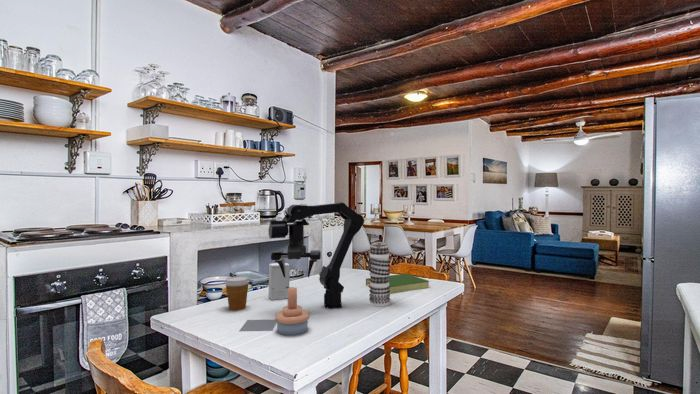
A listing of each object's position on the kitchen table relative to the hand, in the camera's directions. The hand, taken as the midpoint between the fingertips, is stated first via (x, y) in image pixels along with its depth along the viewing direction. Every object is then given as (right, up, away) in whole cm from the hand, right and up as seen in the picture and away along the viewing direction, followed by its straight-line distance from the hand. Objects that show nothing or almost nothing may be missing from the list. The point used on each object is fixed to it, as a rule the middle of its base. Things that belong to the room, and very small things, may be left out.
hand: (296, 277), depth 146 cm
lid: (+2, -9, -21) cm, 23 cm away
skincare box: (-10, -13, +19) cm, 25 cm away
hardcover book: (+43, -13, +37) cm, 58 cm away
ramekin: (+2, -13, -21) cm, 25 cm away
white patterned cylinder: (+33, -13, +10) cm, 37 cm away
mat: (-11, -13, -16) cm, 23 cm away
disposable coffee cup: (-24, -13, +4) cm, 28 cm away
